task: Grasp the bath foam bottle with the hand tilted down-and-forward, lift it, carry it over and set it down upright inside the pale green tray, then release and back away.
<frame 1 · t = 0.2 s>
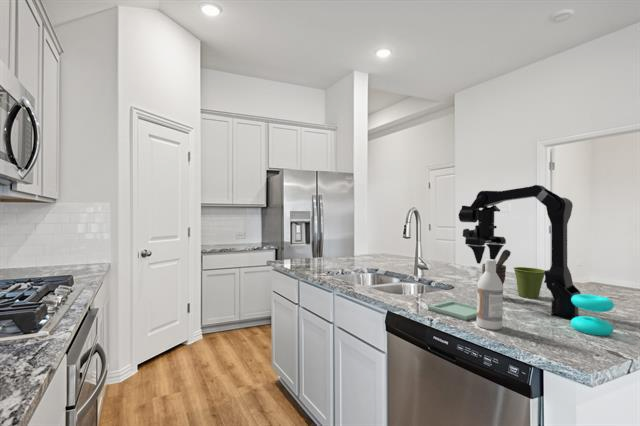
hand: (485, 262, 141), 14 cm above the worktop, tool pointing down, fingers open, 9 cm apart
bath foam: (489, 327, 107), on the worktop
donuts: (591, 331, 105), on the worktop
mortar and pestle: (496, 298, 143), on the worktop
tray: (458, 312, 122), on the worktop
plant pot: (528, 297, 147), on the worktop
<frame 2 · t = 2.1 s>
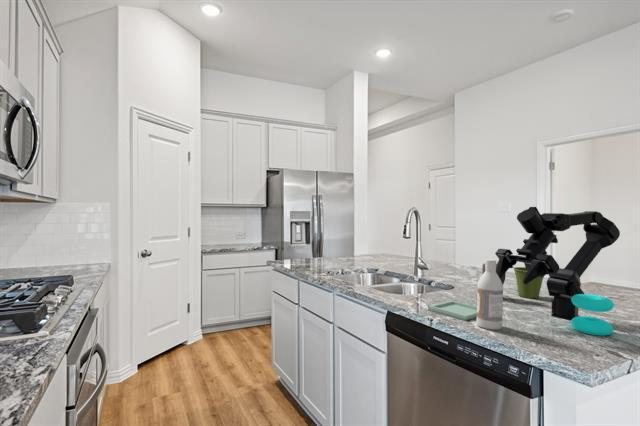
hand: (510, 280, 110), 13 cm above the worktop, tool tilted 45°, fingers open, 9 cm apart
nothing on the worktop moved.
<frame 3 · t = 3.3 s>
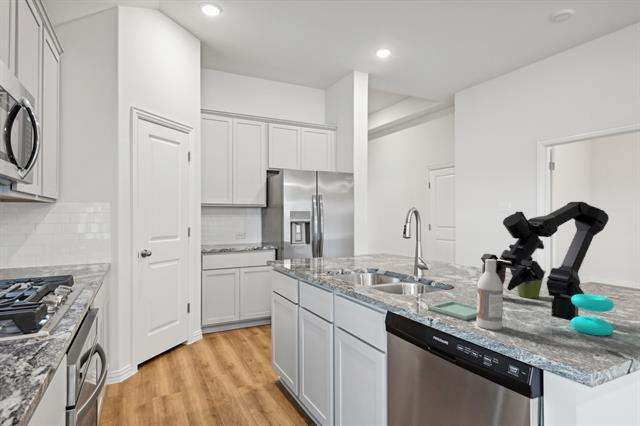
hand: (495, 286, 108), 12 cm above the worktop, tool tilted 45°, fingers open, 9 cm apart
nothing on the worktop moved.
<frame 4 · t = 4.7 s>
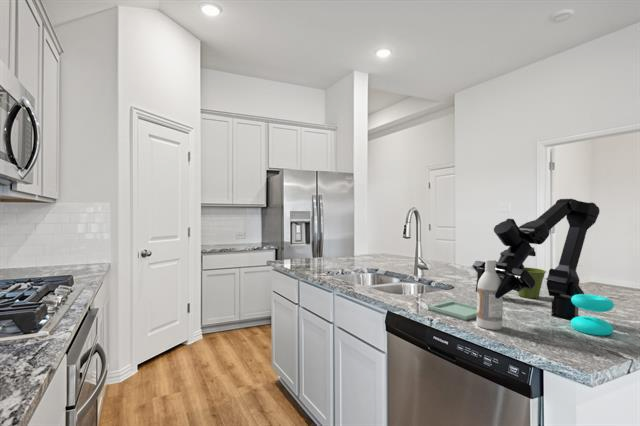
hand: (486, 294, 107), 10 cm above the worktop, tool tilted 45°, fingers closed on bath foam, 7 cm apart
bath foam: (489, 327, 107), on the worktop, touching gripper
everything else where it was.
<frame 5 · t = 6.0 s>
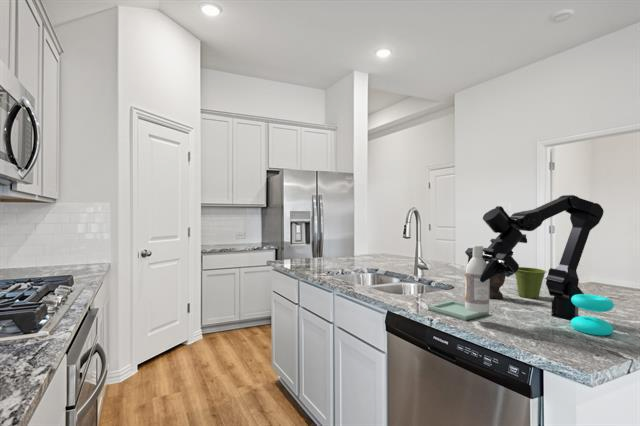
hand: (473, 279, 111), 13 cm above the worktop, tool tilted 45°, fingers closed on bath foam, 7 cm apart
bath foam: (476, 310, 112), point 3 cm above the worktop, touching gripper
everything else where it was.
when the fingers open (10 cm above the worktop, at t = 7.7 s): bath foam stays where it is, resting on tray.
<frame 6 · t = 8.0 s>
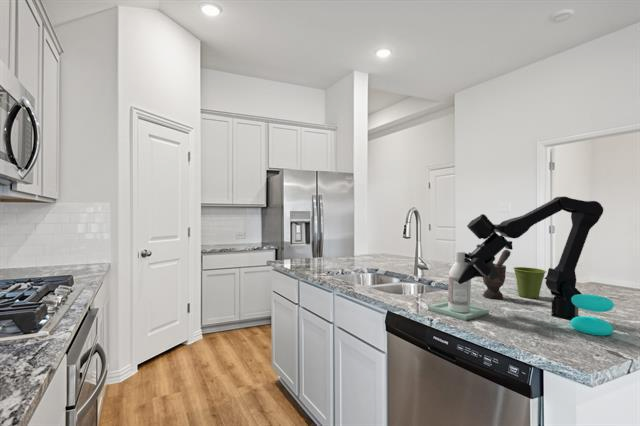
hand: (454, 280, 122), 11 cm above the worktop, tool tilted 45°, fingers open, 9 cm apart
bath foam: (458, 310, 122), resting on tray
everything else where it was.
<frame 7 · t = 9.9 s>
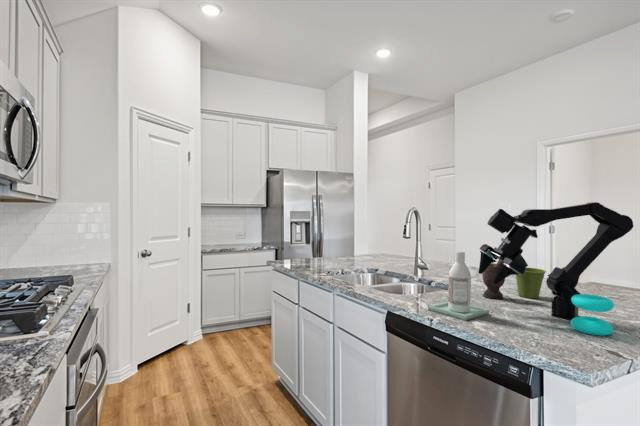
hand: (486, 278, 124), 11 cm above the worktop, tool tilted 35°, fingers open, 9 cm apart
nothing on the worktop moved.
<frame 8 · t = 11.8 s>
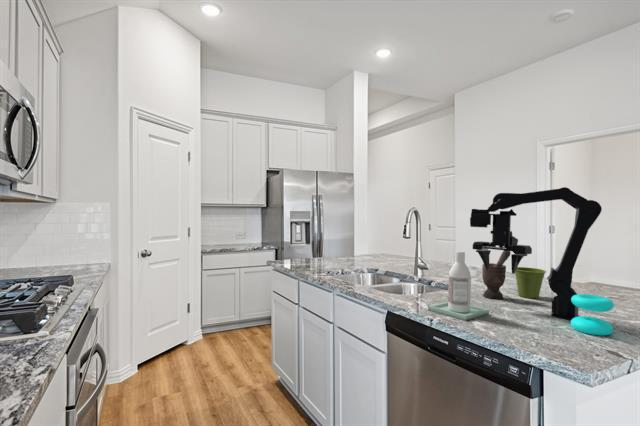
hand: (500, 271, 129), 13 cm above the worktop, tool pointing down, fingers open, 9 cm apart
nothing on the worktop moved.
at the end: bath foam 0.2 cm from the tray (horizontally); bath foam tilted 0°; the gripper is holding nothing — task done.
